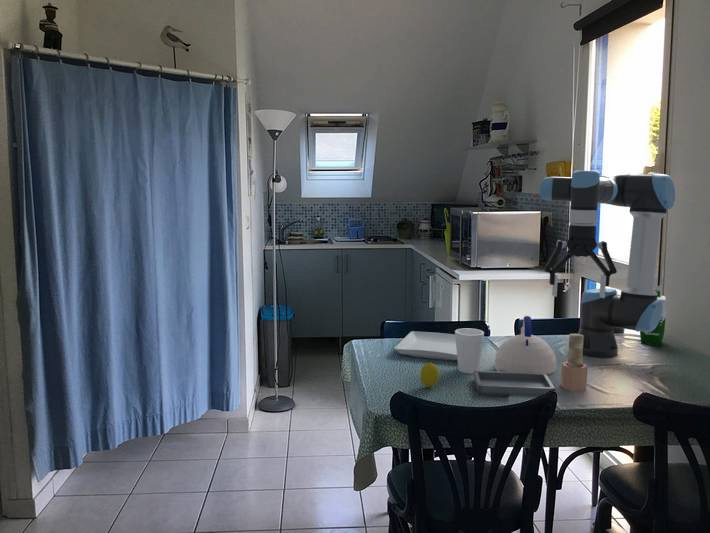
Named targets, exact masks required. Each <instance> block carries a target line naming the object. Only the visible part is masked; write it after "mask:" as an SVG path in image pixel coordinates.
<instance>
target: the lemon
mask: <svg viewBox="0 0 710 533" xmlns="http://www.w3.org/2000/svg"><path fill="white" fill-rule="evenodd" d="M439 378H440V372H439V368H438V367H437V366H436V364H434V363H432V362H431V361H429V362H428V363H425V364H424V365H423V366H422V367H421V370H420V380H421V382H422V384H423V385H424V386H426V387H427V388H429V389H431V387H433V386H435V385H437V383H438V382H439Z"/></svg>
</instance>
